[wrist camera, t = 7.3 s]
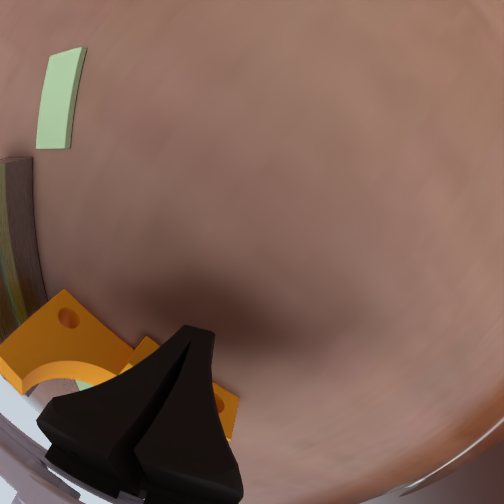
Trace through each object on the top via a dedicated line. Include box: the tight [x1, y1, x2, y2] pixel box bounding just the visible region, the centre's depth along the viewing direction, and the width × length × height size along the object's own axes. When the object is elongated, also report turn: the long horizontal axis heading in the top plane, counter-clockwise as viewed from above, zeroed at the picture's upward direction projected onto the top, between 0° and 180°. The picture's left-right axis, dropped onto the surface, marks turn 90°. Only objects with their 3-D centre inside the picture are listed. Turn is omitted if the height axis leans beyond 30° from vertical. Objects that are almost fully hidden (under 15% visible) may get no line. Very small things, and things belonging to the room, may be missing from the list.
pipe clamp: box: [0, 288, 239, 441], centre depth 11 cm, size 12×4×6 cm, turn 50°
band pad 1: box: [36, 47, 87, 149], centre depth 9 cm, size 2×5×1 cm, turn 170°
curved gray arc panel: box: [0, 157, 47, 397], centre depth 11 cm, size 3×14×5 cm, turn 170°
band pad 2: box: [75, 379, 94, 391], centre depth 16 cm, size 2×5×1 cm, turn 170°
